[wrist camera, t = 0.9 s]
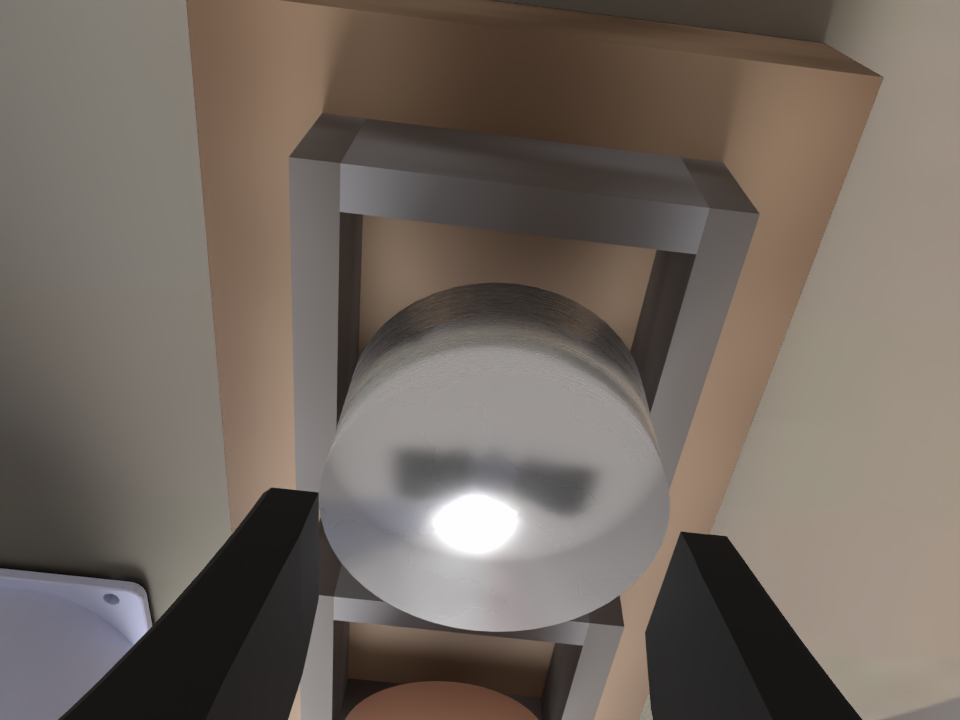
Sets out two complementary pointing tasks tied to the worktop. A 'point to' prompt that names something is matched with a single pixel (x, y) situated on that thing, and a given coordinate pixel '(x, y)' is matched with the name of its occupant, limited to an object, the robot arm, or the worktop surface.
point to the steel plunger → (495, 462)
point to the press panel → (504, 259)
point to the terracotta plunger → (439, 703)
